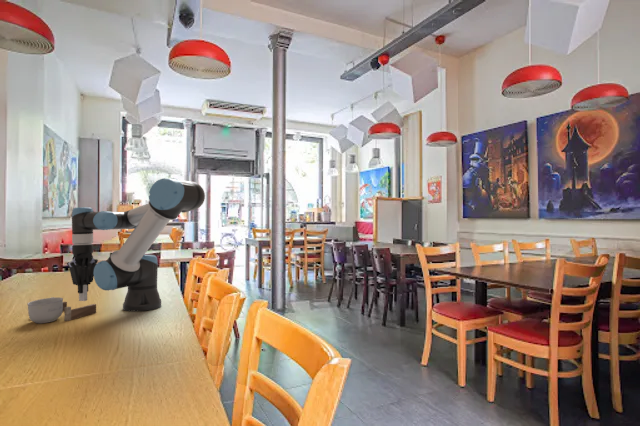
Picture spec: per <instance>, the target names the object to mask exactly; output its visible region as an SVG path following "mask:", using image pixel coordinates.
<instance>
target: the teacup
mask: <svg viewBox="0 0 640 426" xmlns="http://www.w3.org/2000/svg"><path fill="white" fill-rule="evenodd" d="M63 300H64V298H63V297H54V296H51V297H46V298H41V299H36V300H32V301H29V302H27V311H28V318H29V320H30V321H32V322H33V323H35V324H46V323H51V322H52V323H53V322H54V321H57V320H58V319H59V318H60V317H61V316H62V315H63V314H64V311H63V302H64V301H63Z"/></svg>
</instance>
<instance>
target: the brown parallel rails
mask: <svg viewBox="0 0 640 426" xmlns="http://www.w3.org/2000/svg"><path fill="white" fill-rule="evenodd" d="M96 313H97V304H96V303H93V304H92V303H91V304H89V305H84V306H80V307H76V308H73V309H72V306H68V301H63V314H64V315H63V317H64V320H63V321H64V322H68V321H72V320H75V319H79V318H82V317H86V316H90V315H93V314H96Z"/></svg>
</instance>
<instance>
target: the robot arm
mask: <svg viewBox="0 0 640 426" xmlns="http://www.w3.org/2000/svg"><path fill="white" fill-rule="evenodd" d="M148 193H149V195H148V200H149V201H148V203H145V204H143V205H140V206H137V207H135V208H132V209H129V210H125V211H108V210H107V211H106V210H102V211H94V209H93V208H92V207H85V206H84V207H83V206H82V207H74V208H73V209H72V211H71V244H73V245H72V246H71V253H72V255H73V257H72V260H71V261H70V262H66V265H67V267H68V269H69V273H70V277H71V282H72V284H73V285H75V286H77V293H78V301H79V302H86V301H88V292H89V285H91V283H93V281H95V284H96V286H97V287H98V288H99V289H101V290H103V291H114V290H118V289H123V288H127V292H126V295H125V298H124V302H123V303H122V310H123V311H125V312H144V311H151V310H156V309H159V308H161V307H162V299H161V297H160V293H159V291H158V265H159V264H158V257H157V256H156V255H154V254H146V253H147V252H148V251H149V249H150V248H151V246H152V245H153V243H154V242H156V240H157V239H158V237H159V235H160V234H161V233H162V231H163V230H164V229H165V228H166V227H167V224H168V223H169V222H170V221H173V220H176V219H177V218H178V217H179V215H180V214H181V213H184V214H185V213H188V212H192V211H194V210H198V209H199V208H200V207H202V205H203V204H204V202H205V199H206V195H205V190H204V188H203V187H202V186H201V185H200V184H199V183H197V182H196V181H193V180H192V181H191V180H183V179H177V178H174V177H173V178H172V177H168V178H166V177H165V178H160V179H158V180H156V181H154V182H153V184H152V185H151V187H150V189H149V191H148ZM94 230H95V231H108V230H109V231H110V230H132V232H131V233H130V234H129V235H128V237H127V239H126V240H125V241H124V243H123V244H122V245H121V247H120V249H118V250H114V251H112V253H111V254H110V255H109V256H108V258H107V259H106V260H101V261H99V260H98V259H95V258H94V256H93V253H94V244H93V243H94ZM98 261H99V262H98Z"/></svg>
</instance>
